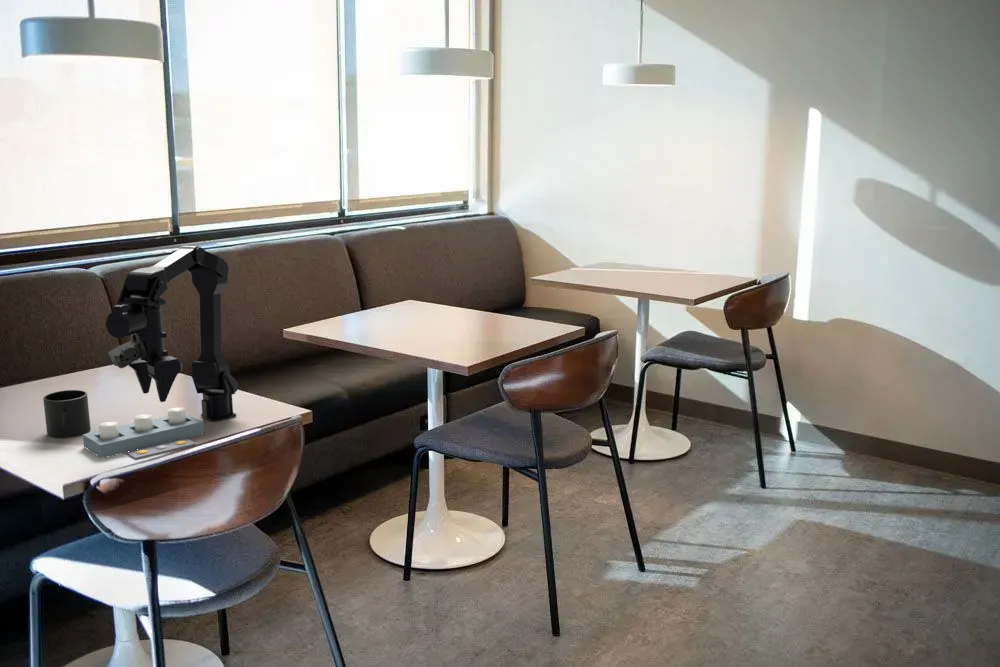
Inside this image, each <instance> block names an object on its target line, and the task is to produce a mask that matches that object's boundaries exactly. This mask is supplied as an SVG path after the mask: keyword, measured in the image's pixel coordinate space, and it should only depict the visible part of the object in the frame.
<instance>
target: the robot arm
mask: <svg viewBox="0 0 1000 667" xmlns="http://www.w3.org/2000/svg"><path fill="white" fill-rule="evenodd" d="M184 272H188V273H189V274H190V276H191V283H192V286H193V287H194V288H195V290H196V291H197V293H198V297H199V299H198V300H199V305H198V307H199V344H200V348H199V349H200V354H199V355H198V357H197V359H196V360H195V361H192V363H191V367H192V373H191V378H192V382H193V384H194V388H195V391H196V394H202V399H201V413H200V416H201V417H202V418H205V419H206V420H208V421H211V422H216V421H221V420H226V419H229V418H234V417H237V413H235V412H234V406H233V404H234V403H233V395H235V394H236V393H237V391H238V384H239V382H238V381H237V380H236V379H235V377H234V376H233V375H232V374H231V373H230V366H229V362H228V361H227V359H226V358H225V355H224V354H223V352H222V351H223V350H222V348H223V347H222V310H221V309H222V307H221V306H222V305H221V303H222V301H221V298H222V297H221V296H222V295H221V294H222V292H223V290H224V289H225V287H226V286H227V283H228V275H229V265H228V262H226V261H225V259H224V258H223V257H220V256H219V255H216V254H213V253H212V252H209V251H208V250H205V249H204V248H203V247H200V246H199V245H182V246H180V247H179V248H178V250H176V251H175V252H173V253H171V254H170V255H168V256H167V257H165V258H163V259H162V260H161V261H159V262H157V263H156V264H154V265H151V266H147V267H142V268H137V269H135V270H134V269H133V270H130V271H129V273H127V275H126V277H125V279H124V282H123V285H122V289H121V290H120V293H119V296H118V300H117V305H113V306H112V312H110V313H109V314H108V316H107V317H106V321H105V328H106V330H107V332H108V333H109V335H111V337H113V338H114V339H115V338H116V339H124V338H127V337H129V336H130V340H129V341H127V342H125V343H123V344H120V345H118V346H116V347H115V348H112V349H111V350H109V351H108V353H107V354H108V356H109V357H110V360H111V362H112V363H113V366H114V367H118V368H119V369H124V368H126V367H129V368H131V369H132V370H133V371H134V373H135V377H136V378H137V380H138V383H139V386H140V389H141V391H142V393H143V394H148V393H150V388H151V383H152V379H153V380H154V382H155V386H156V392H157V395H158V400H159V402H160V403H164V402H166V401H167V399H168V396H169V394H170V391H171V389H172V386H173V384H174V382H175V380H176V378H177V376H178V375H179V374H180V372H182V371H183V362H182V361H181V360H180V359H178V358H177V357H174V356H172V355H169V352H168V350H166V349H165V346H164V338H167V332H165V331H163V320H162V310H161V309H162V307H161V306H164V305H166V304H167V301H166V300H164V299H163V298H162V295H163V294H164V293H165V292H166V291H167V290H168V289H169V283H170V282H171V281H173V280H174V279H176V278H178V276H180V275H182V274H183V273H184Z"/></svg>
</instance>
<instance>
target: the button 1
mask: <svg viewBox="0 0 1000 667" xmlns="http://www.w3.org/2000/svg"><path fill="white" fill-rule="evenodd" d="M118 427H119V423H118V422H116V421H108V422H107V421H106V422H102V423H99V424H98V431H99V433H100V440H102V441H104V440H109V439H113V438H118V437H119V429H118Z"/></svg>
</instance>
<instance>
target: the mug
mask: <svg viewBox="0 0 1000 667" xmlns="http://www.w3.org/2000/svg"><path fill="white" fill-rule="evenodd" d="M42 400H43V408H44V418H45V429H46V434H47V436H48V437H49V438H54V439H69V438H74V437H75V438H77V437H79V436H83V434H87V433H90V430H91V420H90V410H89V409H90V408H89V400H88V393H87V392H86V391H85V390H81V389H80V390H79V389H69V390H68V389H67V390H60V391H54V392H50V393H48V394H46V395H44V396H43V399H42Z"/></svg>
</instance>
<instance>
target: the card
mask: <svg viewBox="0 0 1000 667" xmlns="http://www.w3.org/2000/svg"><path fill="white" fill-rule="evenodd" d="M193 445H194V446H196V445H197V443H196V442H195V441H192V440H191V439H189V438H184V439H180V440H175V441H171V442H167V443H163V444H159V445H154V446H150V447H146V448H142V449H138V450H133V451H129V452H126V453H125V455H127V454H128V455H127V456H129V458H132V459H134V460H135V461H136V460H140V459H144V458H148V457H151V456H156V455H160V454H164V453H168V452H173V451H176V450H181V449H184V448H185V449H186V448H189V447H192V446H193Z"/></svg>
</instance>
